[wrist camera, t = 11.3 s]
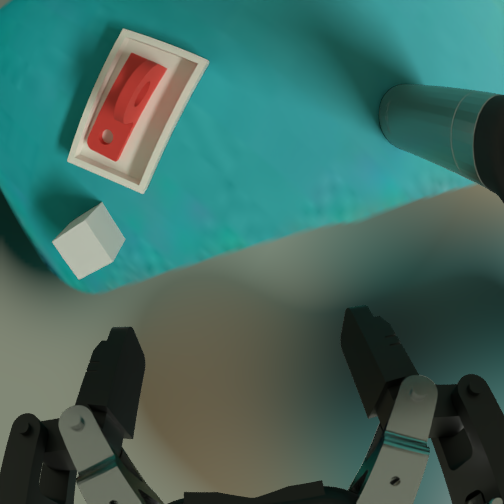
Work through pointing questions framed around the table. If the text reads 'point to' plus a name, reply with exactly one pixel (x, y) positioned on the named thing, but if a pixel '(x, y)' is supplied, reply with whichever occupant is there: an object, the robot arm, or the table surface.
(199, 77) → the holder tray
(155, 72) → the bracket
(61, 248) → the white cube
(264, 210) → the table surface
